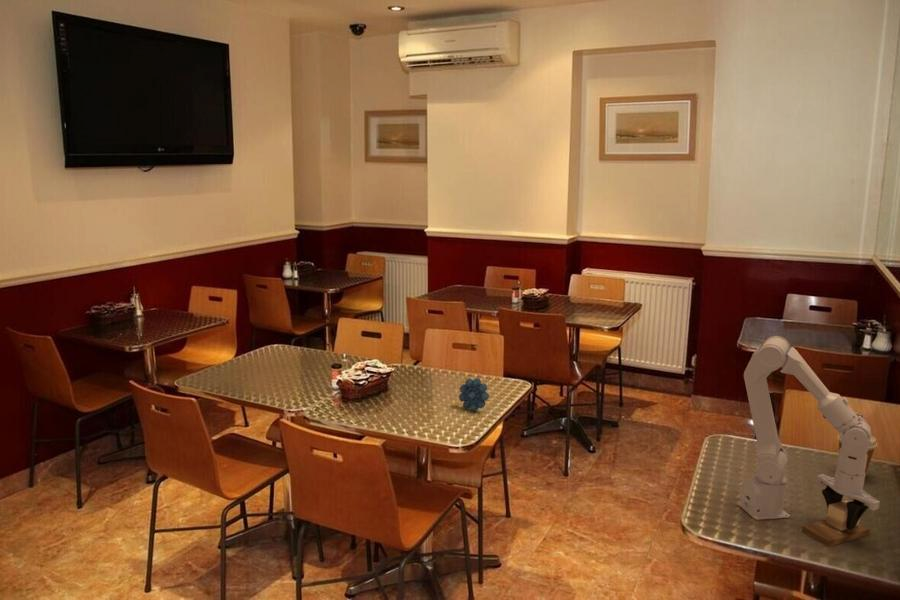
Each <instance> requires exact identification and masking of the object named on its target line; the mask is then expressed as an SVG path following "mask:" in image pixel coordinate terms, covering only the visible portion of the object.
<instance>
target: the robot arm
mask: <svg viewBox="0 0 900 600" xmlns="http://www.w3.org/2000/svg"><path fill="white" fill-rule="evenodd" d="M780 368H781V370H780V373H782V374H785V375H792V376H794V377H795V378H796V379H797V380H798V381H799V382H800V383H801V385H803V387H804V388H805V389H806V390H807V391H808V392H809V393H810V394H811V396H813V397H814V398H815V399H816V401H817V405H816V406H817V410H818V411H819V412H820V413H821V415H822V416H824V418H825V419H826V421H827V422H828V423H829V424H830V425H831V426H832V427H833V428H834V430H835V431H837V432H838V433H839V434H840V433H841V434H842V435H841V441H842V446H841V448H840V450H839V449H838V457H837V464H836V469H835V475H834V477H832V476H829V475H826V474H824V473H822V474H818V475H817V476H816V477H817V478H816V483H817V484H819V485H824V486H825V488H824V489H822V490H821V493H822V496H823V498H824V501H825V503H826V507H827V509H828V507H829V505H830V504H833V503H837V502H841V500H842V498H843V495H844V496H847V497H850V498H852V499H853V501H850V502H847V510H848V518H847V524H846V526H847V529H849V530H850V529H853V528H855V526H856V524H857V522H858V520H859V519H861V517H862V516H863V515H864V513H865V512H866V511H867V510H868V509H869V510H871V511H877V510H879V509H880V503H881V501H880V500H879V499H876V498H875V497H873V496H871V494H869V493H868V492H866V491H865V490H864V489H863V490H862V486H863V487H864V485H863V480H864V474H865V468H866V462H867V452H868V447H869V445H870V443H871V441H870V439H871V435H872V427H871V426H870V424H869V422H868V421H867V420H866V419H864V418H863V417H862V416H861V414H860V415H858V414H857V413H856V412H855V411H854V409H852V408H851V406H850V405H849V404H848V403H849V400H848V399H847V397H846V396H843V397H842V396H841V395H840V394H839V393H835V392H831V391H830V390H829V389H828V388H827V386H825V384H824V383H823V382H822V380H821V379H820V378H819V377H818V375H817V374H816V373H815V372H814V370H813V369H812V368H811V367H810V365H808V363H807V362H806V361H805V359H804V358H803V357H802V355H801V354H800V353H799V352H798V350H797V349H796V348H794V346H791V345H790V342H789V341H788V340H787V339H786V338H785V337H782V336H778V335H774V336H770V337H767V339H765V340H764V341H763V342H762V343H761V344H760V345H759V346H758V348H757V349H756V350H755V351H754V352H753V353H752V355H751V358H750V360H749V361H748V363H747V365H746V368H745V370H744V372H743V380H744V384H745V389H746V393H747V399H748V403H749V409H750V415H751V418H752V424H753V429H754V434H755V439H756V444H757V445H756V446H757V447H756V458H757V463H756V466H755V473H754V475H753V476H751V477H748V478H744V480H743V482H742V484H741V492H740V499H739V500H740V501H738V502H737V504H738V506H739V507H741V508H742V509H743V510H744V511H745V512H746V513H747V514H748V515H750V516H751V517H752V519H754V520H756V521H757V520H760V521H761V520H771V519H772V520H773V519H774V520H775V519H787V518H791V515H790V514H789V513H788V512H786V511H785V509H784V503H785V497H786V495H785V494H786V488H787V481H788V478H787V476H786V475H785V472H786V469H787V468H788V466H789V463H790V457H789V455H788V453H787V452H786V451H785V449H784V448H783V444H782V441H781V440H780V438H779V434H778V430H777V429H778V428H777V425H776V419H775V414H774V410H773V405H772V400H771V396H770V389H769V384H768V379H767V378H768V377H769V375H771V374H772V373H773V372H775V371H777V370H778V369H780ZM864 481H865V480H864ZM859 521H860V520H859Z"/></svg>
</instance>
